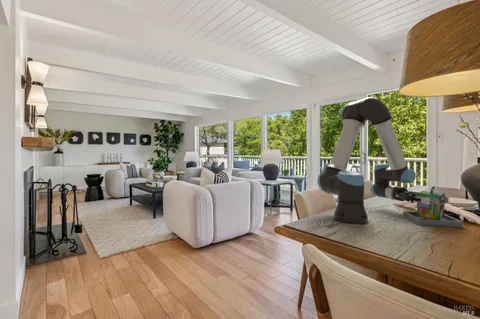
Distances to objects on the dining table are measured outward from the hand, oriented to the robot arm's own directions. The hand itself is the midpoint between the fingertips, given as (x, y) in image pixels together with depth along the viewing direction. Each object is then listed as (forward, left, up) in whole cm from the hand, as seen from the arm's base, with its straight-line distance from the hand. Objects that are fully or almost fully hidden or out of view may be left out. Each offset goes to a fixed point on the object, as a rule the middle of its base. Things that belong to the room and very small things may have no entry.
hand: (438, 200), depth 114 cm
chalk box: (-2, +3, -9) cm, 10 cm away
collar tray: (-2, +3, -10) cm, 11 cm away
